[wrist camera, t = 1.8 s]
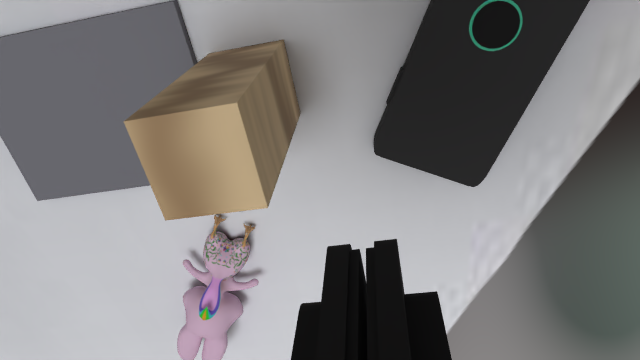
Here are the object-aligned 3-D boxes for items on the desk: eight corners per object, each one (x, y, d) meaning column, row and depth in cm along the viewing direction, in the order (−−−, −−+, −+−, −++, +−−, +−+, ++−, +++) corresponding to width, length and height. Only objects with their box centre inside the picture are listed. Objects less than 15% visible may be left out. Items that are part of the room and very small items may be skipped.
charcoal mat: (176, -1, 28) (173, 1, 27) (231, 170, 33) (229, 174, 33) (-43, 45, 30) (-50, 48, 30) (42, 196, 36) (37, 200, 35)
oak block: (283, 39, 28) (237, 102, 18) (300, 113, 31) (267, 207, 20) (209, 53, 29) (123, 121, 19) (231, 124, 32) (165, 220, 21)
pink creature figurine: (202, 200, 37) (169, 343, 42) (178, 233, 31) (143, 393, 36) (276, 221, 37) (235, 360, 42) (265, 258, 31) (219, 413, 36)
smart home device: (682, -149, 21) (481, 191, 31) (661, -144, 23) (475, 179, 33) (523, -216, 21) (367, 153, 30) (512, -206, 22) (367, 142, 32)
